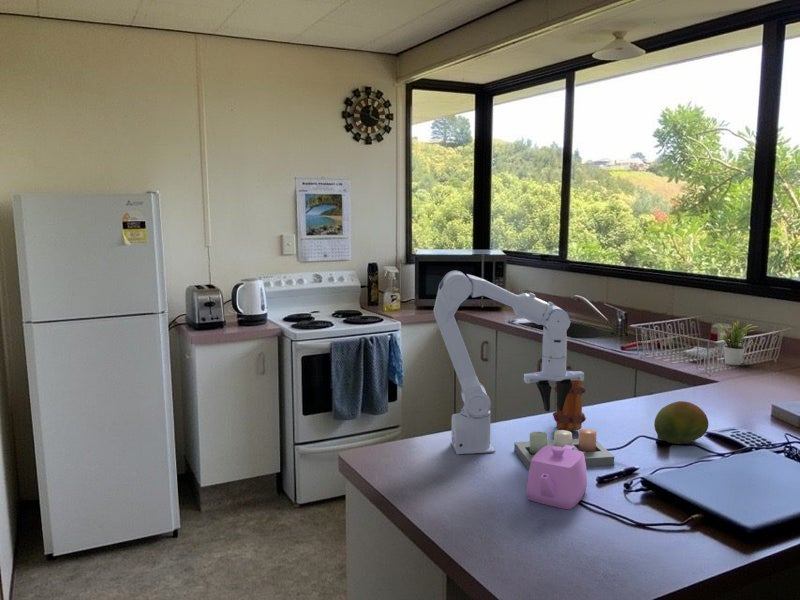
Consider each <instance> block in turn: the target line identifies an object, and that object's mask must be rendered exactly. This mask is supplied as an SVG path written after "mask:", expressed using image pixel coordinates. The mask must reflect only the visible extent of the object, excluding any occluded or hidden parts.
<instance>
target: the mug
mask: <svg viewBox="0 0 800 600" xmlns="http://www.w3.org/2000/svg"><path fill="white" fill-rule="evenodd" d="M571 383H572V388H571V390H570V391H569V393H568V395H567V397H566V400H565V403H564V406H563V410H562V411H560V410H558V409H557V408H556V411H554V412H553V413H552V416H553V420H554V421H555V422H556V423H555V424H556V428H557V429H559V430H566V431H570V432H571V431H579V430H581V429H582V427H583V426H582V424H583V423H584V422H585V421H586V420H587V418H586V415H585V413H584V412H583V394H584V393H586V388H585V386H584V385H583V381H579V380H573V381H571ZM553 388H554V391H555V393H557V385H556V384H555V385H554V387H553Z"/></svg>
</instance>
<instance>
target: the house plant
mask: <svg viewBox="0 0 800 600" xmlns="http://www.w3.org/2000/svg"><path fill="white" fill-rule="evenodd" d="M717 324H718V325H720V327H721V329H722V330H723V331H724V333H722V335H723V336H719V337H718V338H719V339H721V340H723V341H724V342H725V343H726V344H724V345H723V353H724V360H725V361H724V362H725V364H727V365H731V366H741V365H742V362H743V358H744V354H745V351H746V347H745V346H743V345H744V344H745V343H746V342H748V341H749V340H752V341H753V342H754V341H755V340H754V339H753V337H752V338H750V337H749V338H748V337H745V335H746V334H748V333H749V332H753V331H755V330H753V329H752V330H751V328H757V327H759V326H758V325H753V323H750V324H748V325H746V326H745V327H743V328H740V323H739V320H738V319H737V320H736V322H735V321H732V324H733V326H732V329H731V330H730V333H729V332H728V330H727V329H726V326H724V325H722V324H721V323H718V322H717ZM752 325H753V326H752ZM749 329H750V330H749ZM745 340H746V341H745ZM742 342H743V343H742ZM741 343H742V345H741Z"/></svg>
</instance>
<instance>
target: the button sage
mask: <svg viewBox="0 0 800 600" xmlns="http://www.w3.org/2000/svg"><path fill="white" fill-rule="evenodd" d="M547 441H548V434H547V433H546V432H544V431H543V432H542V431H531V432H530V433H529V442H530V453H531V454H534V455H535V454H536V453H537V452H538V451H539V450H540V449H542V448H543V447H545V446H547Z"/></svg>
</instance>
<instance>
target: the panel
mask: <svg viewBox="0 0 800 600" xmlns="http://www.w3.org/2000/svg"><path fill="white" fill-rule="evenodd" d="M547 445H550V446H554V439H550V440H548V439H547ZM572 446H574V450H577V451H581V450H579V438H572ZM513 447H514V448H513V449H514V450H513V451H514V452H515V451H516V452H517V453H516V452H515V453H516V455H517V456H518V455H519V456H518V458H520V460H521V459H522V460H523V461H522V460H521V461H522V462H523V463H525V464H526V465H525V464H524V465H525V466H526V468H527V467H528V468H527V469H528V470H529V469H530V464H531V460H532V458H533V457H534V455H533V454H531V453H530V441H515V442H514V446H513ZM582 452H583V451H582ZM583 453H584V457H585V463H586V468H587V467H600V466H601V467H602V465H603V466H614V465H615V456H614V455H613V453H611V452H610V451H609V450H608V449H606V447H604V446H603V445H602V444H601V443H600V442H598V441H597V440H596V451H594V452H583Z"/></svg>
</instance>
